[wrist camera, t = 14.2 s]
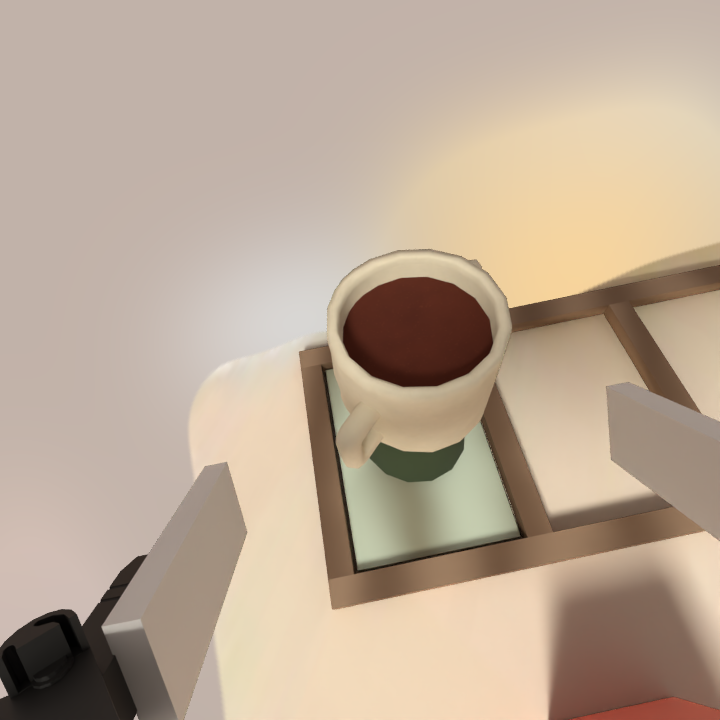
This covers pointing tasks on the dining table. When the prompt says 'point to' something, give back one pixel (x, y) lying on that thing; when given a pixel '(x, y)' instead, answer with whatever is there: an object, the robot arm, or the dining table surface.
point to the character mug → (415, 358)
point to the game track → (479, 474)
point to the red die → (658, 711)
